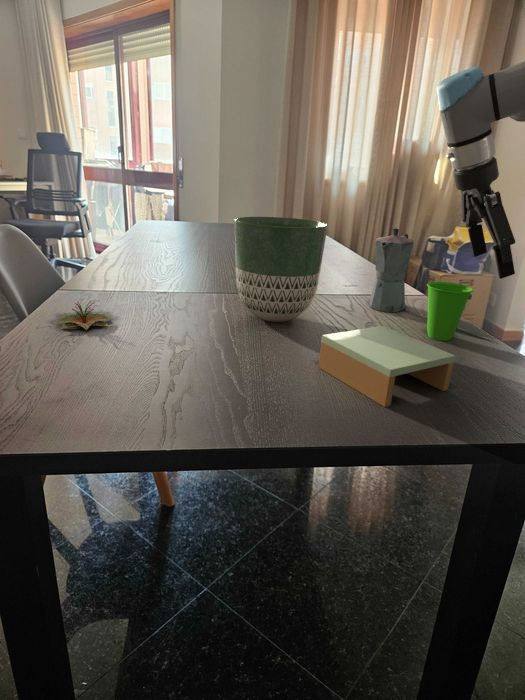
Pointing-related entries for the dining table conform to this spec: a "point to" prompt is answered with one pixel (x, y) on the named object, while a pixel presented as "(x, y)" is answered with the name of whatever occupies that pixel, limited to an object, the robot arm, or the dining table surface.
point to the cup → (445, 308)
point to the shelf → (382, 361)
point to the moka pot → (391, 272)
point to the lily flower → (84, 319)
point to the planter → (278, 265)
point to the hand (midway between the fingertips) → (492, 264)
